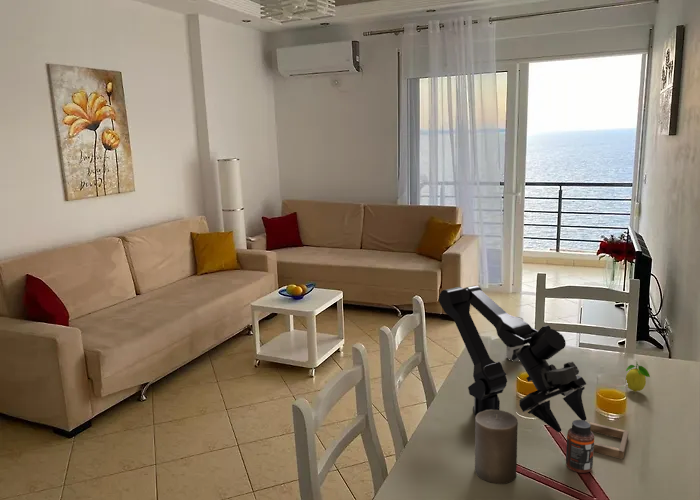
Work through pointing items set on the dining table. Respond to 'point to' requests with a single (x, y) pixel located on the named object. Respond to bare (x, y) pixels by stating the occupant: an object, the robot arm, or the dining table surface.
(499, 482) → the pillar candle
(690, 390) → the dining table surface
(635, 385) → the lemon
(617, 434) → the bay
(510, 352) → the energy drink can
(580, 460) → the supplement bottle
